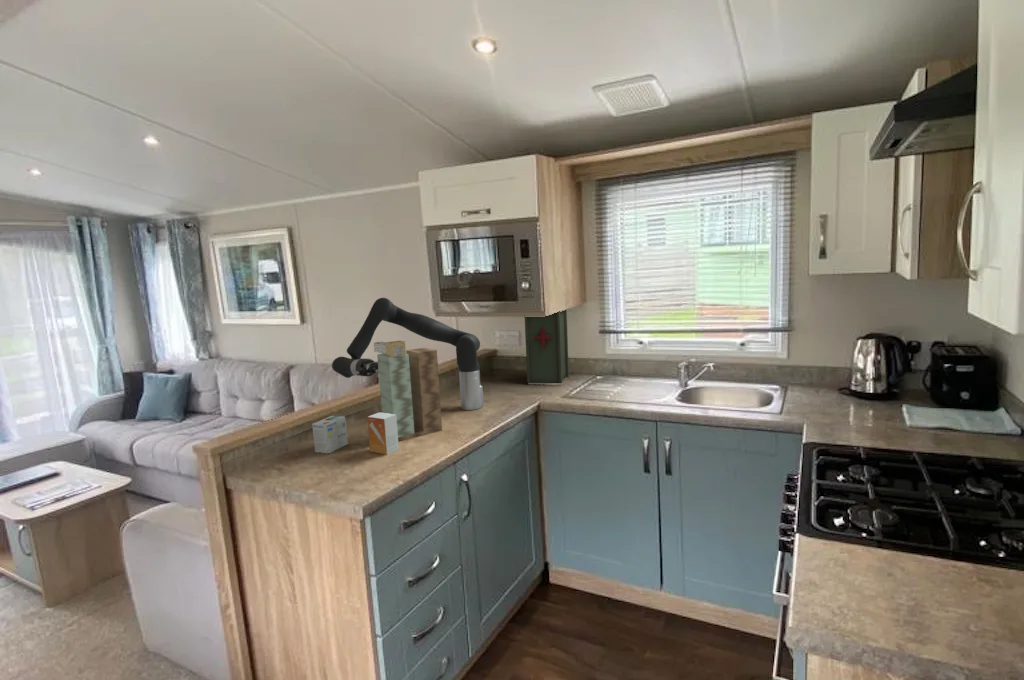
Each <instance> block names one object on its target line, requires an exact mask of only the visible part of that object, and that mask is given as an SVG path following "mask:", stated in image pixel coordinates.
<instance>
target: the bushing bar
mask: <svg viewBox="0 0 1024 680" xmlns="http://www.w3.org/2000/svg"><path fill="white" fill-rule="evenodd" d="M406 350H407V349H406V341H404V340H394V341H386V342H385V341H378V342H377V341H376V342H373V352H375V353H378V354H386V356H389V357H394V356H400V355H406Z"/></svg>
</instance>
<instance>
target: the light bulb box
mask: <svg viewBox="0 0 1024 680" xmlns="http://www.w3.org/2000/svg"><path fill="white" fill-rule="evenodd" d="M311 425H312V434H313V436H312V437H313V443H314V444H313V445H314V452H315V453H319V452H321V453H320V454H328V453H329V454H331V453H333V452H335V451H337V450H339V449H341V448H343V447H345V446H346V445H348V442H349V441H348V434H347V423H346V416H341V415H330V416H328V417H326V418H324V419H321V420H319V421H316V422H314V423H311Z"/></svg>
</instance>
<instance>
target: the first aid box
mask: <svg viewBox="0 0 1024 680" xmlns="http://www.w3.org/2000/svg"><path fill="white" fill-rule="evenodd" d="M567 311H568V309H567V310H565V311H562V312H560V311H559V312H557V313H554V314H552V315H549V316H545V317H525V316H524V333H525V334H524V335H525V354H526V356H525V357H526V358H525V359H526V360H525V361H526V381H527V383H562V381H563V379H565V378H568V377H569V378H570V375H569V373H570V372H569V371H570V369H569V368H570V367H569V343H568V342H569V341H568V313H567Z"/></svg>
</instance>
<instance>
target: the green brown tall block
mask: <svg viewBox="0 0 1024 680" xmlns="http://www.w3.org/2000/svg"><path fill="white" fill-rule="evenodd" d="M376 357H377V362H378V369H379V370H378V381H379V390H380V391H379V392H380V403H381V404H380V405H381V413H389V414H396V420H397V433H398V442H403V441H405V440H409V439H413V438H417V437H421V436H425V435H428V434H432V433H433V434H434V433H437V432H440V431H443V423H442V422H443V421H442V410H441V409H442V408H441V406H442V405H441V394H440V379H439V378H440V376H439V364H438V363H439V362H438V350H437V349H435V348H428V347H420V348H413V349H406V355H400V356H394V357H389V356H386V354H382V353H378V354H377V356H376Z"/></svg>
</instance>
